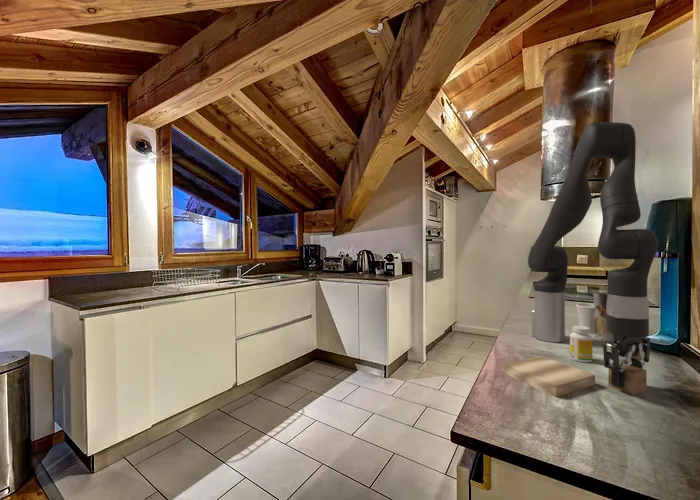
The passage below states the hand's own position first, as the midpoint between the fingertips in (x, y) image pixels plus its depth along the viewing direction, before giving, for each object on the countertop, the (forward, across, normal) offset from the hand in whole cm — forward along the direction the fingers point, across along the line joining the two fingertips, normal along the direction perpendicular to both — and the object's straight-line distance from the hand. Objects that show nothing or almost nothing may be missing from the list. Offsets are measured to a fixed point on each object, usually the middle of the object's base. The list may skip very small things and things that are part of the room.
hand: (627, 383), depth 74 cm
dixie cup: (+1, -41, -33) cm, 53 cm away
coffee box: (+1, -37, -23) cm, 44 cm away
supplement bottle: (+1, -9, -16) cm, 18 cm away
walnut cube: (+1, 0, 0) cm, 1 cm away
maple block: (+2, +12, -11) cm, 16 cm away
